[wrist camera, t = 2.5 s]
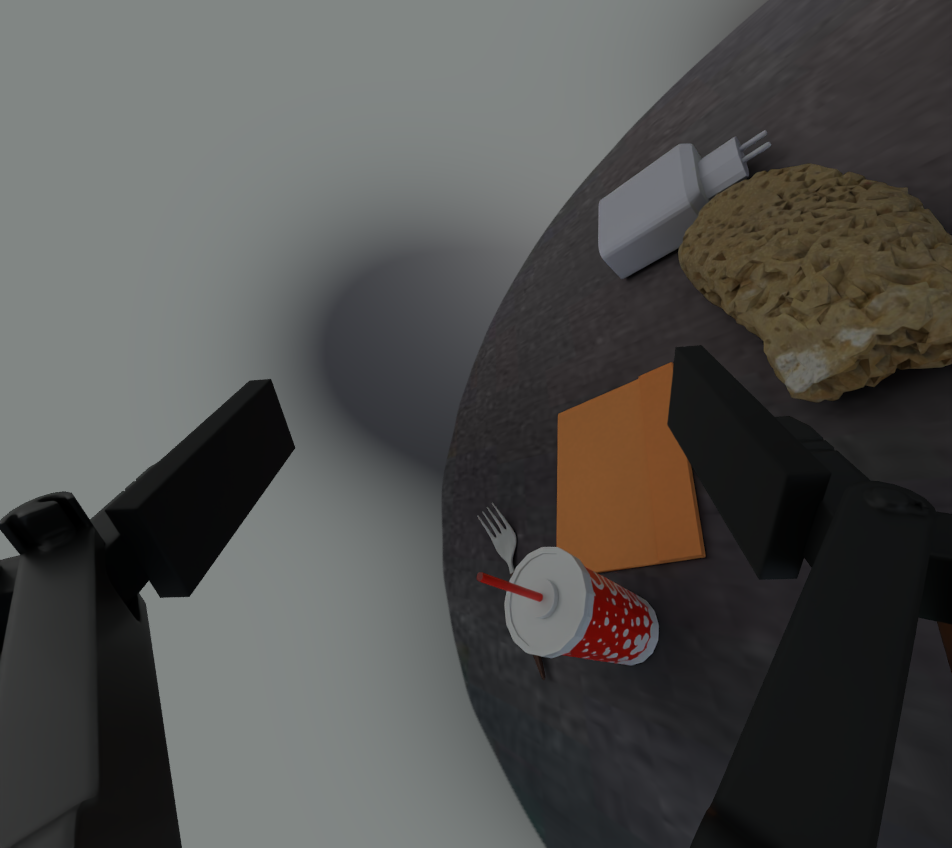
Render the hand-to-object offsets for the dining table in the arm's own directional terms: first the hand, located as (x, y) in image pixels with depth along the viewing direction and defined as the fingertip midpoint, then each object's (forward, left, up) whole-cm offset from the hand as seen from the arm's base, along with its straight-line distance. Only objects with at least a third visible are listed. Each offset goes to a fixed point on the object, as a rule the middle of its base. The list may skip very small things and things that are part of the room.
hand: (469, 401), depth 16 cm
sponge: (-19, +7, -23) cm, 31 cm away
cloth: (-10, -9, -23) cm, 26 cm away
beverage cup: (+2, -9, -23) cm, 25 cm away
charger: (-35, +1, -23) cm, 42 cm away
